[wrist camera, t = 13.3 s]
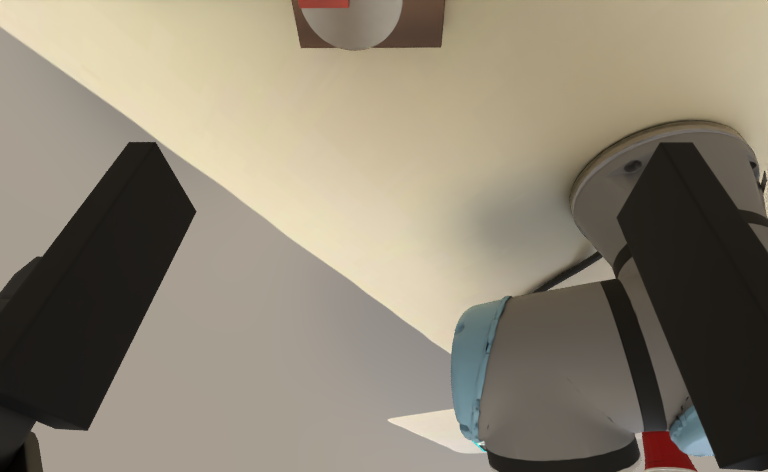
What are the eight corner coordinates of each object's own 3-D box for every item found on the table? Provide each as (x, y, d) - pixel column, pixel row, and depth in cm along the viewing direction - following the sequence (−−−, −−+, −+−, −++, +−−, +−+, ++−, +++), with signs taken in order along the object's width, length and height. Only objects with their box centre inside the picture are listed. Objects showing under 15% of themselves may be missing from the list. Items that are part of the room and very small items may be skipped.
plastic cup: (642, 411, 93) (661, 471, 86) (689, 415, 93) (713, 474, 86) (619, 424, 102) (635, 479, 94) (662, 427, 102) (682, 482, 94)
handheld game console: (504, 433, 115) (505, 438, 114) (515, 446, 126) (515, 451, 125) (469, 435, 118) (470, 440, 117) (483, 447, 129) (483, 452, 128)
